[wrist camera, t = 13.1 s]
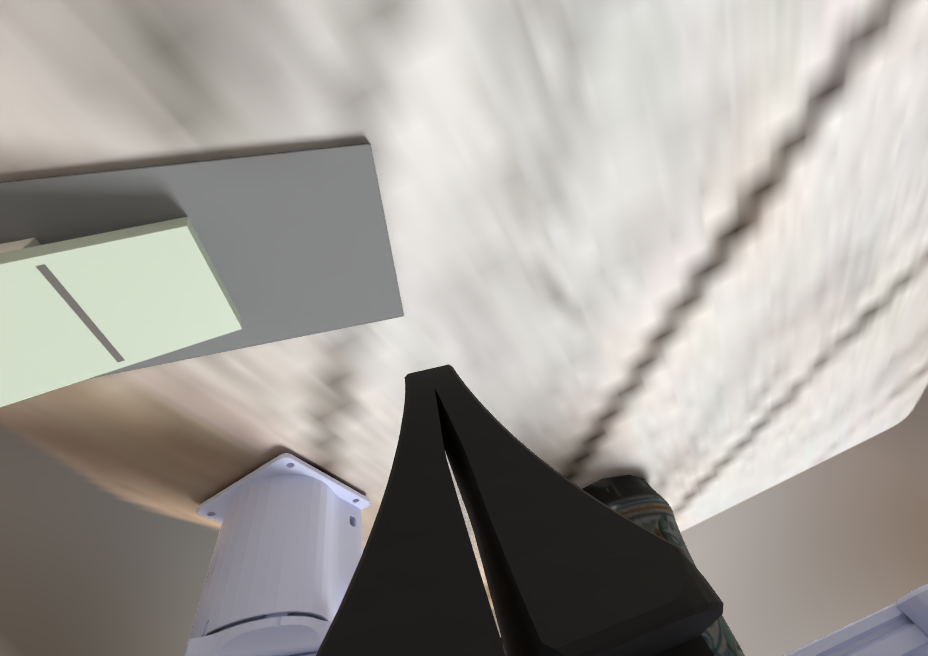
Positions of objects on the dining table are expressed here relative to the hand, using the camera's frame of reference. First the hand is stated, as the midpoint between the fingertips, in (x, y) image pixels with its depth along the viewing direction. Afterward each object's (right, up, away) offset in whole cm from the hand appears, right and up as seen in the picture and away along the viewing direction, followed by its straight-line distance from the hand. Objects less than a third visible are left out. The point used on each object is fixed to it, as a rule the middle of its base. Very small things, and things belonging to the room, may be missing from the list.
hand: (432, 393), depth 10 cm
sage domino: (-10, +4, +5) cm, 12 cm away
